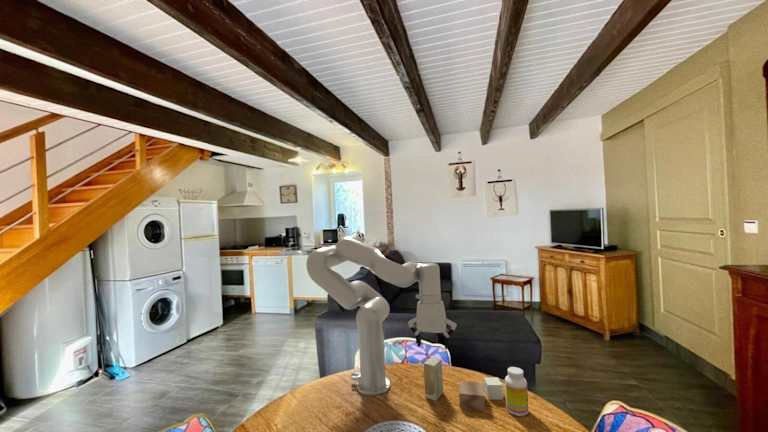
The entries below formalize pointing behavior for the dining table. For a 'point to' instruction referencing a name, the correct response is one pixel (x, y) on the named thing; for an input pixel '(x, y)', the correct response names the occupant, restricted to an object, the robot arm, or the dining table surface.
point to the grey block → (493, 388)
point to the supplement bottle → (516, 392)
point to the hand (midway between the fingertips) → (432, 346)
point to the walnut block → (471, 395)
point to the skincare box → (433, 378)
